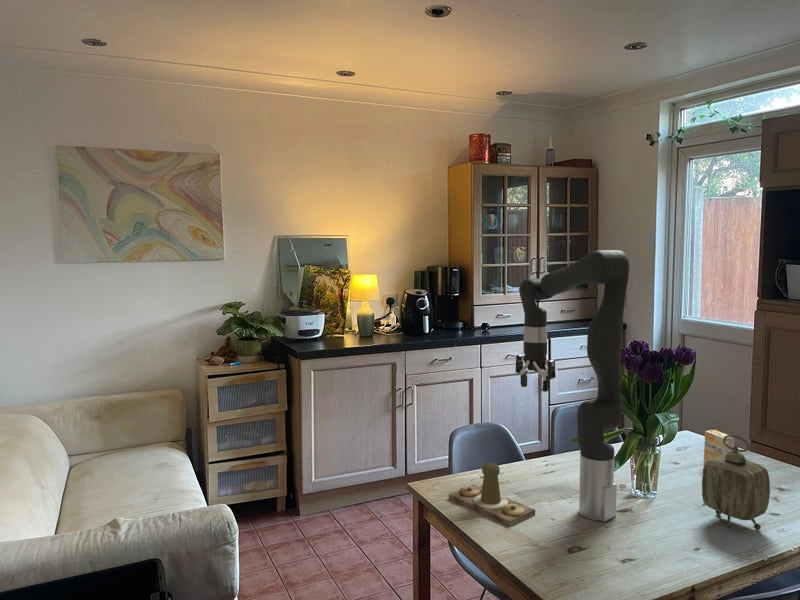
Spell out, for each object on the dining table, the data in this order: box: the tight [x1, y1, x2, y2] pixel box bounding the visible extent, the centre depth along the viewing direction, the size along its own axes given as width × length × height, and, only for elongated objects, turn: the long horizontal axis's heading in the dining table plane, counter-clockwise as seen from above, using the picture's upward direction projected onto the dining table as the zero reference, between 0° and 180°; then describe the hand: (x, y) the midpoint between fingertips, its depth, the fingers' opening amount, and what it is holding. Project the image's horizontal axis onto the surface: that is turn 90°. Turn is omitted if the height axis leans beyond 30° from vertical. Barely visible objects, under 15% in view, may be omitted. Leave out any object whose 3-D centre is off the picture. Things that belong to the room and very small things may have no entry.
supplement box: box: [702, 429, 735, 468], centre depth 201 cm, size 8×5×13 cm, turn 17°
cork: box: [481, 462, 502, 505], centre depth 175 cm, size 6×6×11 cm
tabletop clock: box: [701, 434, 771, 531], centre depth 162 cm, size 14×9×25 cm, turn 32°
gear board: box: [448, 484, 536, 527], centre depth 175 cm, size 24×11×3 cm, turn 40°
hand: (534, 389), depth 194 cm, fingers open, 8 cm apart
